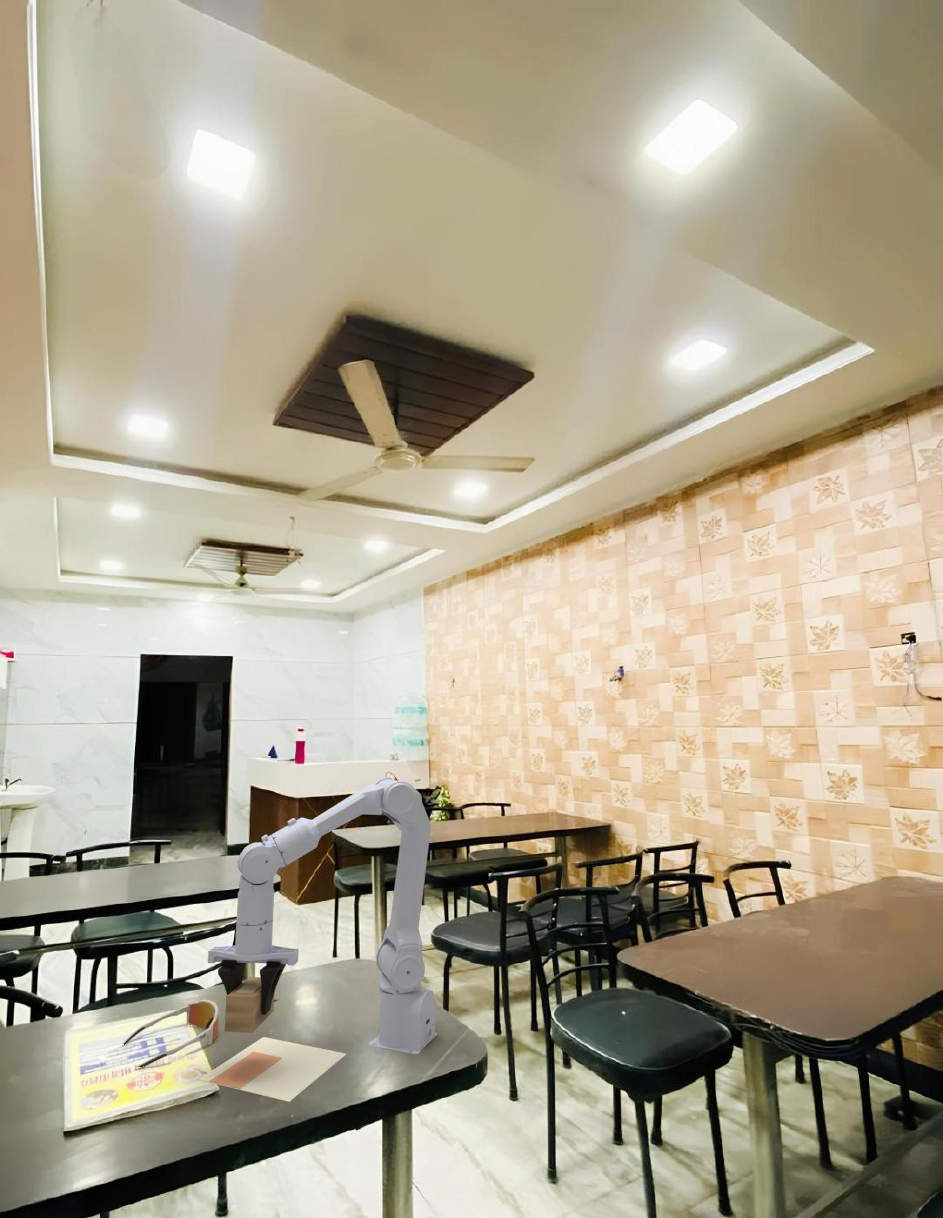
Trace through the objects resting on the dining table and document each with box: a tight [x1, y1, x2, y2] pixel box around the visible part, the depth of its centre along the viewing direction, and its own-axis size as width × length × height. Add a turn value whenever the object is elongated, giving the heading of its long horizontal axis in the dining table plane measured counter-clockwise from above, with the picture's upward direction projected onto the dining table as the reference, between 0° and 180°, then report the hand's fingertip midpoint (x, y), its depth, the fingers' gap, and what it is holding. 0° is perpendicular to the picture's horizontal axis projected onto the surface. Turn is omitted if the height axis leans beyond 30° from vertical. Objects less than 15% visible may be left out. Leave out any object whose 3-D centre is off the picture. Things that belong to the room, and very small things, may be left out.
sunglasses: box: [121, 999, 220, 1067], centre depth 113 cm, size 14×15×5 cm
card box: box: [224, 976, 276, 1034], centre depth 104 cm, size 8×4×5 cm, turn 174°
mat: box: [197, 1036, 347, 1103], centre depth 103 cm, size 17×15×1 cm
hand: (250, 1011), depth 104 cm, fingers closed on card box, 4 cm apart
